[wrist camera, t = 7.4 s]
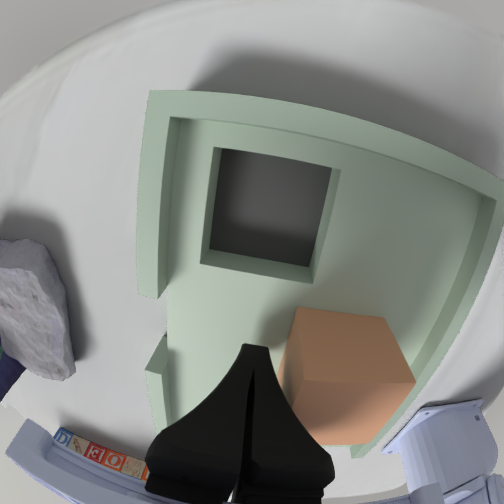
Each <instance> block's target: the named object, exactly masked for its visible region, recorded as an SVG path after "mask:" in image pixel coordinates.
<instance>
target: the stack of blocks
mask: <svg viewBox="0 0 504 504" xmlns="http://www.w3.org/2000/svg"><path fill="white" fill-rule="evenodd" d="M53 438H54V440H55V441H57V442H59V443H60V444H62V445H64V446H66V447H67V448H69V449H71V450H73V451H75V452H77V453H78V454H80V455H82V456H84V457H86V458H88V459H90V460H92V461H94V462H97V463H99V464H101V465H103V466H105V467H108V468H110V469H112V470H115V471H117V472H120V473H122V474H125V475H127V476H130V477H132V478H135V479H138V480H141V481H144V482H146V481H147V478H148V476H149V473H150V472H149V470H148V468H147V465H146V463H145V461H142V460H139V459H136V458H133V457H130V456H126V455H123V454H120V453H117V452H115V451H112V450H109V449H107V448H104V447H102V446H99V445H97V444H94V443H91V442H90V441H87V440H85V439H83V438H81V437H79V436H76V435H74V434H72V433H70V432H68V431H66V430H64V429H62V428H59V429H58V431H57V432H56V434H55V435H54V437H53Z"/></svg>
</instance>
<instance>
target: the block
mask: <svg viewBox="0 0 504 504" xmlns="http://www.w3.org/2000/svg"><path fill="white" fill-rule="evenodd" d="M277 379H278V382H279V384H280V387H281V389H282V391H283V393H284V395H285V397H286V399H287V401H288V403H289V405H290V406H291V408H292V410H293V412H294V413H295V415H296V416H297V418H298V419H299V421H300V422H301V423H302V425H303V426H304V427H305V429H306V430H307V431H308V432H309V434H310V435H311V436H312V437H313V438H314V439H315V441H316V442H317V443H318V444H319V445H354V444H368V443H369V442H370V441H371V440H372V439H373V438H374V437H375V436H376V434H377V433H378V432H379V431H380V430H381V429H382V427H383V426H384V425H385V424H386V423H387V421H388V420H389V419H390V418H391V417H392V415H393V414H394V413H395V412H396V410H397V409H398V408H399V406H400V405H401V404H402V402H403V401H404V400H405V398H406V397H407V396H408V394H409V393H410V391H411V390H412V389H413V387H414V386H415V384H416V383H417V382H416V380H415V378H414V376H413V374H412V372H411V369H410V367H409V365H408V363H407V361H406V359H405V357H404V355H403V353H402V351H401V349H400V347H399V345H398V343H397V341H396V339H395V337H394V335H393V333H392V331H391V329H390V327H389V326H388V324H387V322H386V320H385V318H384V317H375V316H366V315H357V314H349V313H341V312H333V311H326V310H318V309H311V308H304V307H297V308H296V312H295V315H294V319H293V322H292V326H291V329H290V333H289V336H288V340H287V343H286V347H285V350H284V353H283V357H282V360H281V363H280V366H279V369H278V373H277Z"/></svg>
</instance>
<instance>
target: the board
mask: <svg viewBox="0 0 504 504" xmlns="http://www.w3.org/2000/svg"><path fill="white" fill-rule="evenodd" d="M503 224H504V181H503V180H501V179H500V178H498V177H496V176H494V175H493V174H491V173H489V172H487V171H486V170H484V169H482V168H480V167H478V166H476V165H474V164H472V163H470V162H469V161H467V160H465V159H463V158H460V157H458V156H456V155H454V154H452V153H450V152H448V151H446V150H443V149H441V148H439V147H437V146H434V145H432V144H430V143H427V142H425V141H422V140H420V139H417V138H415V137H412V136H410V135H407V134H404V133H402V132H399V131H396V130H393V129H390V128H388V127H385V126H382V125H379V124H375V123H372V122H369V121H366V120H362V119H359V118H356V117H352V116H349V115H345V114H341V113H337V112H333V111H329V110H325V109H321V108H317V107H312V106H307V105H303V104H298V103H292V102H287V101H281V100H276V99H269V98H263V97H256V96H248V95H239V94H230V93H219V92H205V91H185V90H150V91H149V97H148V103H147V109H146V116H145V123H144V130H143V138H142V147H141V157H140V168H139V180H138V197H137V222H136V269H137V294H139V295H143V296H146V297H150V298H154V299H158V298H159V297H160V295H161V294H162V293H163V291H164V290H165V288H166V287H167V337H166V336H163V337H162V339H161V341H160V343H159V344H158V346H157V348H156V350H155V352H154V354H153V355H152V357H151V359H150V361H149V363H148V365H147V366H146V368H145V376H146V383H147V389H148V395H149V401H150V406H151V412H152V417H153V422H154V426H155V431H156V433H157V434H159V433H160V432H161V430H163V429H165V428H166V427H168V426H170V425H171V424H173V423H175V422H176V421H178V420H179V419H181V418H182V417H183V416H185V415H186V414H187V413H189V412H190V411H191V410H193V409H194V408H195V407H196V406H197V405H199V404H200V403H201V402H202V401H203V400H204V399H205V398H206V397H207V396H208V395H209V394H210V393H211V392H212V391H213V390H214V389H215V388H216V386H217V385H218V384H219V383H220V382H221V380H222V379H223V378H224V376H225V375H226V374H227V372H228V371H229V369H230V368H231V366H232V365H233V363H234V361H235V360H236V358H237V356H238V354H239V352H240V349H241V346H242V344H244V343H248V344H254V345H259V346H266V347H268V348H269V352H270V357H271V361H272V364H273V368H274V371H275V374H276V376H277V373H278V369H279V366H280V363H281V360H282V357H283V353H284V350H285V347H286V343H287V340H288V336H289V333H290V329H291V326H292V322H293V319H294V315H295V312H296V308H297V307H304V308H311V309H318V310H326V311H333V312H341V313H349V314H357V315H366V316H375V317H384V318H385V320H386V322H387V324H388V326H389V327H390V329H391V331H392V333H393V335H394V337H395V339H396V341H397V343H398V345H399V347H400V349H401V351H402V353H403V355H404V357H405V359H406V361H407V363H408V365H409V367H410V369H411V372H412V374H413V376H414V378H415V380H416V382H417V383H416V384H415V386H414V387H413V389H412V390H411V391H410V393H409V394H408V396H407V397H406V398H405V400H404V401H403V402H402V404H401V405H400V406H399V408H398V409H397V410H396V412H395V413H394V414H393V415H392V417H391V418H390V419H389V420H388V421H387V423H386V424H385V425H384V426H383V427H382V429H381V430H380V431H379V432H378V433H377V434H376V436H375V437H374V438H373V439H372V440H371V441H370V442H369V443H368V444H354V445H320V446H321V447H350V452H351V458H363V457H364V456H365V455H366V454H367V453H368V452H369V451H370V450H371V449H372V448H373V447H374V446H375V445H376V444H377V443H378V442H379V441H380V440H381V439H382V437H383V436H384V435H385V434H386V433H387V432H388V431H389V430H390V429H391V428H392V426H393V425H394V424H395V423H396V422H397V421H398V420H399V418H400V417H401V416H402V415H403V414H404V412H405V411H406V410H407V409H408V407H409V406H410V405H411V404H412V402H413V401H414V400H415V398H416V397H417V396H418V394H419V393H420V392H421V390H422V389H423V388H424V386H425V385H426V384H427V382H428V381H429V379H430V378H431V376H432V375H433V373H434V372H435V370H436V369H437V367H438V366H439V364H440V363H441V361H442V360H443V358H444V357H445V355H446V353H447V352H448V350H449V348H450V347H451V345H452V343H453V342H454V340H455V338H456V336H457V335H458V333H459V331H460V329H461V327H462V325H463V323H464V322H465V320H466V318H467V316H468V314H469V312H470V310H471V308H472V306H473V304H474V301H475V299H476V297H477V295H478V293H479V290H480V288H481V286H482V283H483V281H484V279H485V276H486V274H487V271H488V269H489V266H490V263H491V261H492V258H493V255H494V252H495V249H496V246H497V243H498V240H499V237H500V234H501V231H502V227H503Z"/></svg>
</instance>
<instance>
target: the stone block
mask: <svg viewBox="0 0 504 504" xmlns="http://www.w3.org/2000/svg"><path fill="white" fill-rule="evenodd" d="M69 327H70V321H69V317H68V307H67V303H66V290H65V286H64V284H63V283H62V281H61V278H60V276H59V274H58V271H57V269H56V267H55V265H54V262H53V260H52V257H51V255H50V253H49V251H48V249H47V248H46V247H45V246H44V245H42V244H39V243H36V242H34V241H32V240H31V239H27V238H25V239H22V240H18V239H17V240H16V241H15V242H12V241H9V240H0V336H1V343H2V348H3V350H4V351H5V353H6V354H7V355H8V356H10V357H12V358H14V359H16V360H18V361H19V362H20V363H21V364H22V365H23V366H24V367H26V368H27V369H28V370H29V371H31V372H33V373H35V374H37V375H40V376H41V377H43V378H46V379H52V380H58V381H64V380H65V378H67V379H68V378H69V377H70V376H72V375H73V374H74V373H75V372H76V367H75V363H74V355H73V351H72V343H71V338H70V334H69V333H70V330H69Z"/></svg>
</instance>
